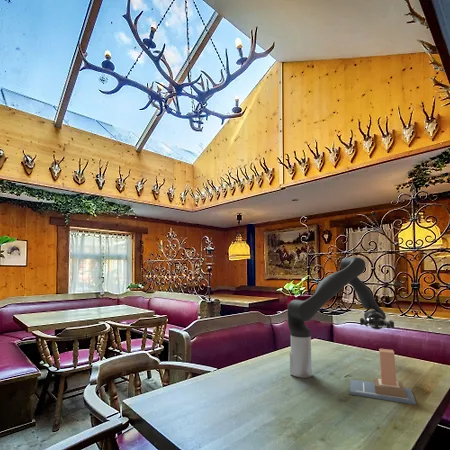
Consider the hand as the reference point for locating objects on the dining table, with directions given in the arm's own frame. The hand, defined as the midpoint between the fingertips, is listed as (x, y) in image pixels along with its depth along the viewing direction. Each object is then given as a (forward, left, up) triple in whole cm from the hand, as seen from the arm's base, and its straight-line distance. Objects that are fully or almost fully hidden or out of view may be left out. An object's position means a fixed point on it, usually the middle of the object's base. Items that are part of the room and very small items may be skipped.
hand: (377, 325), depth 137 cm
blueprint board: (-1, -16, -23) cm, 28 cm away
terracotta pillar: (+2, -16, -19) cm, 25 cm away
